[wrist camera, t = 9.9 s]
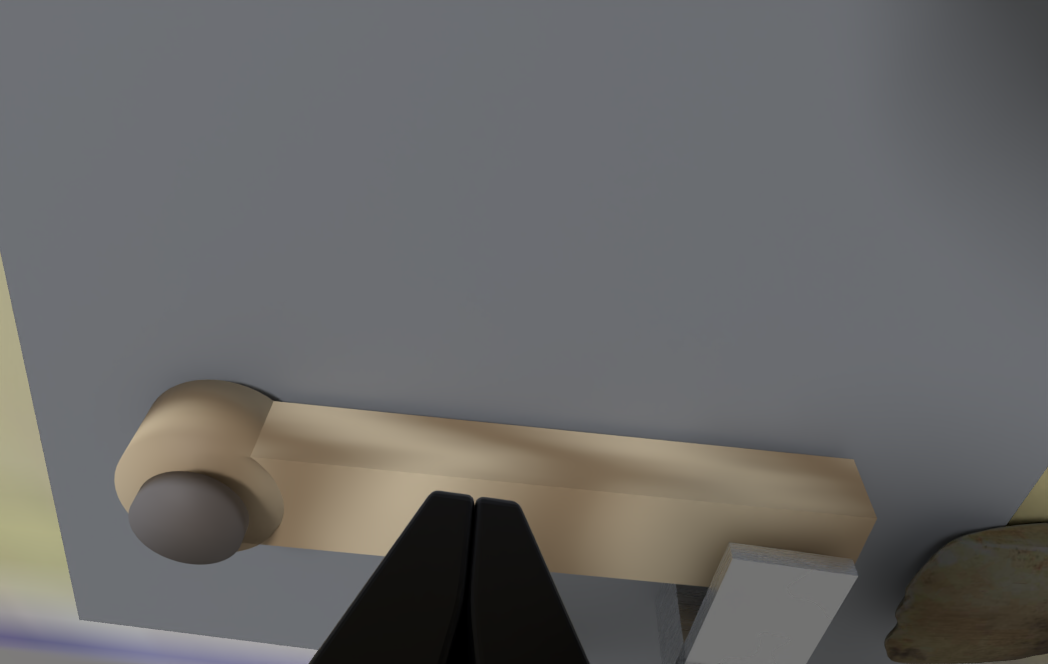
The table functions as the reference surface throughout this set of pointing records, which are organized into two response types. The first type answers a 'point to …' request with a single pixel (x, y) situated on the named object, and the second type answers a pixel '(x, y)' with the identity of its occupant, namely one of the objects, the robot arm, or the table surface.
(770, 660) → the keeper
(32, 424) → the table surface
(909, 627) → the stone
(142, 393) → the pivot board
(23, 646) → the table surface
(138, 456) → the link
